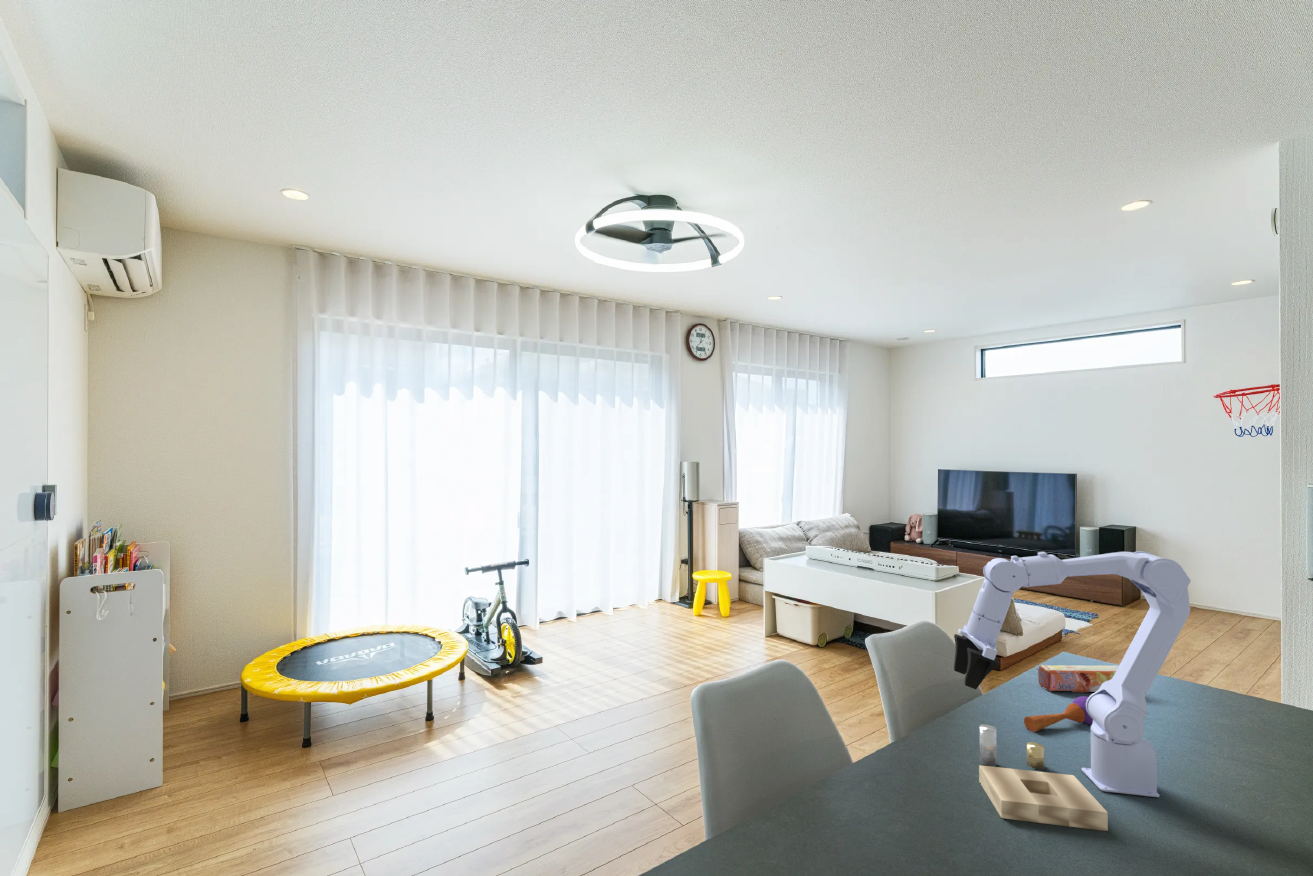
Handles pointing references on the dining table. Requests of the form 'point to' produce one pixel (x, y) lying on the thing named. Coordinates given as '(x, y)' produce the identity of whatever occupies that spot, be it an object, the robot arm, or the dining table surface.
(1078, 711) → the maraca
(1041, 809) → the hole block
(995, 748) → the long pin
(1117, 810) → the dining table surface
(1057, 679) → the snack package
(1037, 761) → the short pin
